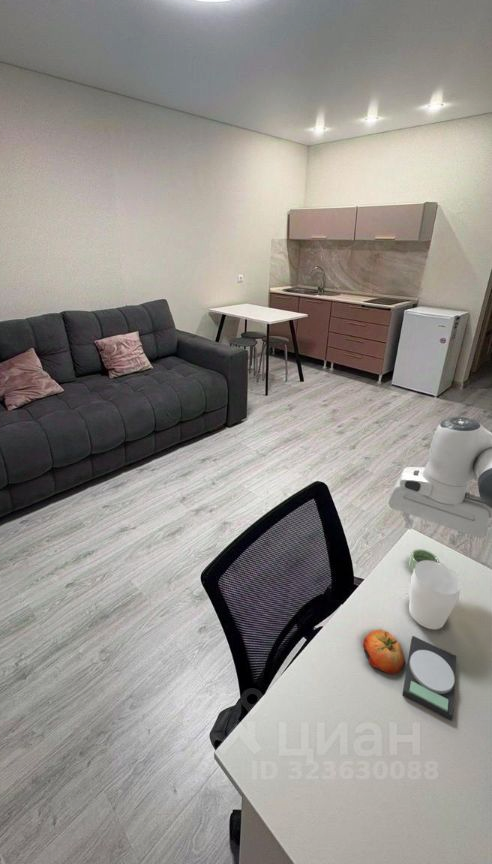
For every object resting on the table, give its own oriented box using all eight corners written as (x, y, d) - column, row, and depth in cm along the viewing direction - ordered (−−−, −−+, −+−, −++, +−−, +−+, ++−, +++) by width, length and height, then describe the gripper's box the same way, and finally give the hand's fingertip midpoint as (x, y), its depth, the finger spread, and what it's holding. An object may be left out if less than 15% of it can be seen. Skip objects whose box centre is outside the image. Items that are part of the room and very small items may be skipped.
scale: (410, 644, 82) (413, 632, 81) (453, 664, 78) (457, 652, 77) (401, 699, 72) (404, 687, 71) (449, 725, 69) (454, 713, 68)
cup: (406, 593, 93) (416, 553, 89) (450, 612, 89) (462, 570, 85) (400, 624, 86) (410, 582, 82) (447, 646, 82) (461, 602, 77)
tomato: (399, 686, 73) (380, 644, 75) (367, 684, 78) (349, 644, 79) (415, 660, 79) (397, 621, 80) (384, 659, 83) (367, 623, 85)
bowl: (418, 559, 103) (421, 545, 102) (441, 576, 98) (445, 562, 96) (402, 568, 100) (405, 554, 99) (425, 587, 95) (429, 572, 93)
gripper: (498, 494, 87) (480, 544, 93) (397, 465, 97) (387, 511, 102) (498, 510, 82) (480, 562, 87) (393, 477, 92) (382, 526, 97)
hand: (429, 534), depth 95 cm, fingers open, 8 cm apart
